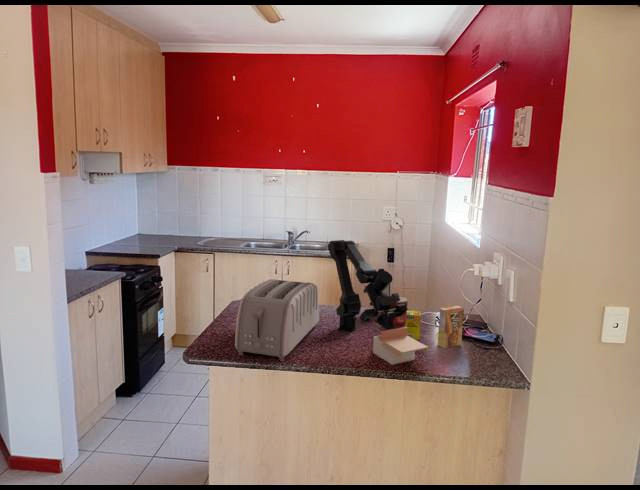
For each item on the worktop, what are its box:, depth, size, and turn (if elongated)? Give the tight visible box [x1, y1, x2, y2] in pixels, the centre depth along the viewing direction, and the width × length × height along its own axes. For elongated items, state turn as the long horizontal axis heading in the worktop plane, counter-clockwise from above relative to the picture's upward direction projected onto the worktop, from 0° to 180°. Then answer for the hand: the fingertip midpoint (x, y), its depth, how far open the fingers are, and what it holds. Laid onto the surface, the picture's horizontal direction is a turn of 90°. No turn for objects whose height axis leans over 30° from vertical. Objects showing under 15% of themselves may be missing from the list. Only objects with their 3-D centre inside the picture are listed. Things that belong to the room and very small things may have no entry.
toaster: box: [234, 278, 320, 362], centre depth 187 cm, size 21×45×22 cm, turn 163°
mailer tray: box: [372, 335, 416, 366], centre depth 175 cm, size 12×10×6 cm
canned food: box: [390, 296, 408, 326], centre depth 212 cm, size 8×8×11 cm
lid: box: [380, 326, 429, 359], centre depth 169 cm, size 13×11×5 cm
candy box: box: [437, 305, 465, 349], centre depth 186 cm, size 9×4×15 cm, turn 116°
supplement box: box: [404, 310, 422, 342], centre depth 193 cm, size 6×6×11 cm
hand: (392, 333), depth 175 cm, fingers closed, pressing on lid
